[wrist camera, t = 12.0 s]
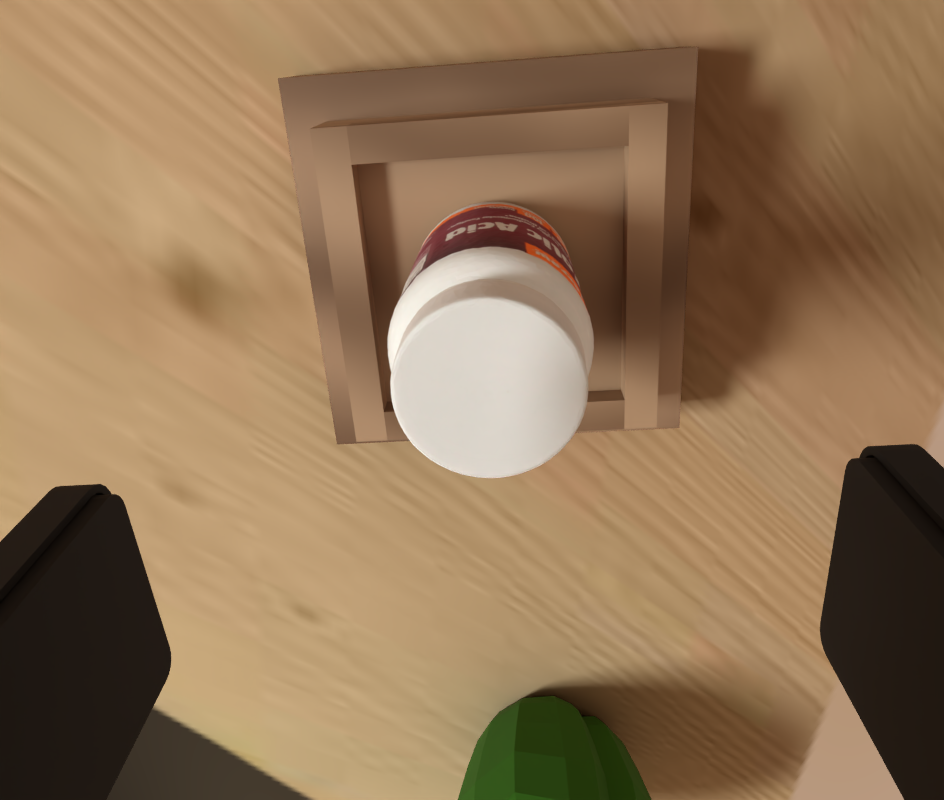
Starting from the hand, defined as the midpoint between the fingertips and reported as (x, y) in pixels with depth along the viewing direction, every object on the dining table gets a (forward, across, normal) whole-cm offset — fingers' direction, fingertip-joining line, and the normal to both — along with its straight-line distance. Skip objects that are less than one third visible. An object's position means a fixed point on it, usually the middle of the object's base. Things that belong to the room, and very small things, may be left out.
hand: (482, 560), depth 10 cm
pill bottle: (+14, 0, 0) cm, 14 cm away
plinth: (+18, 0, 0) cm, 18 cm away
